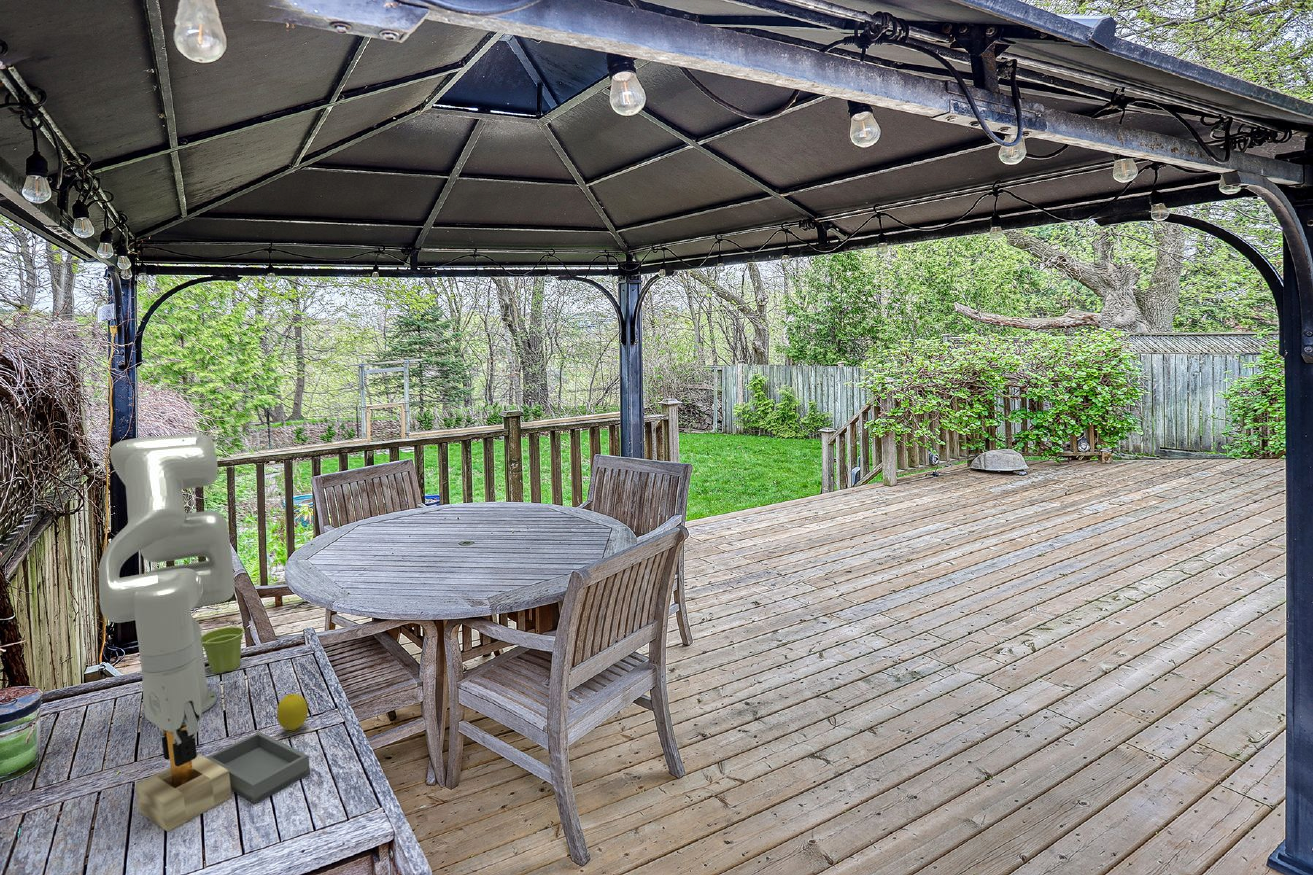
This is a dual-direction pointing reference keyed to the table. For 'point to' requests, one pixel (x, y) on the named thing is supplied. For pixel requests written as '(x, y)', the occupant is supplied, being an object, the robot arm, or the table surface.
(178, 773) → the pin
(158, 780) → the pin block
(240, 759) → the tray
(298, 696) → the lemon
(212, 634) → the plant pot
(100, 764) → the table surface
